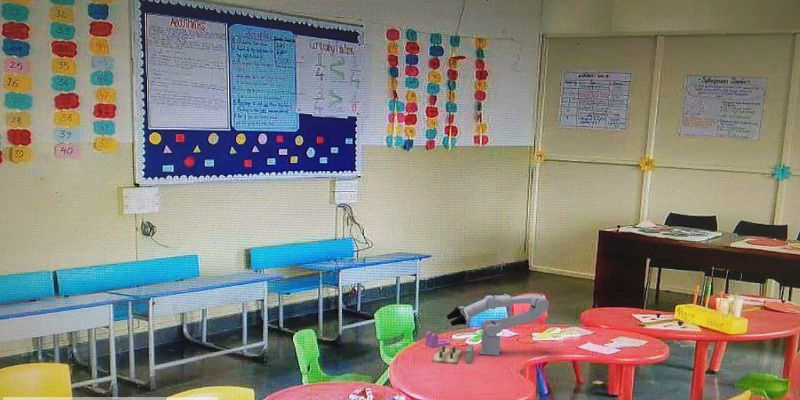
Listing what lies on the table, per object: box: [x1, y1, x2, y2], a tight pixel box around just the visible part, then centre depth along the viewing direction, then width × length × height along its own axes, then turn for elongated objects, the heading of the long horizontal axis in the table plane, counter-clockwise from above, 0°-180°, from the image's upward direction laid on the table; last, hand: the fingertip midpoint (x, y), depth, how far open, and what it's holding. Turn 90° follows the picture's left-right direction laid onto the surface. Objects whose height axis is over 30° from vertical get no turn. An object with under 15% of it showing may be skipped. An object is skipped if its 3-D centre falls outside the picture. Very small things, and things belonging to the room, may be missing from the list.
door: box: [465, 344, 474, 364], centre depth 354 cm, size 2×10×6 cm, turn 168°
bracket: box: [425, 331, 451, 349], centre depth 378 cm, size 13×6×7 cm, turn 123°
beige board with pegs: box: [431, 345, 463, 365], centre depth 358 cm, size 12×20×4 cm, turn 168°
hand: (449, 320), depth 362 cm, fingers open, 7 cm apart
